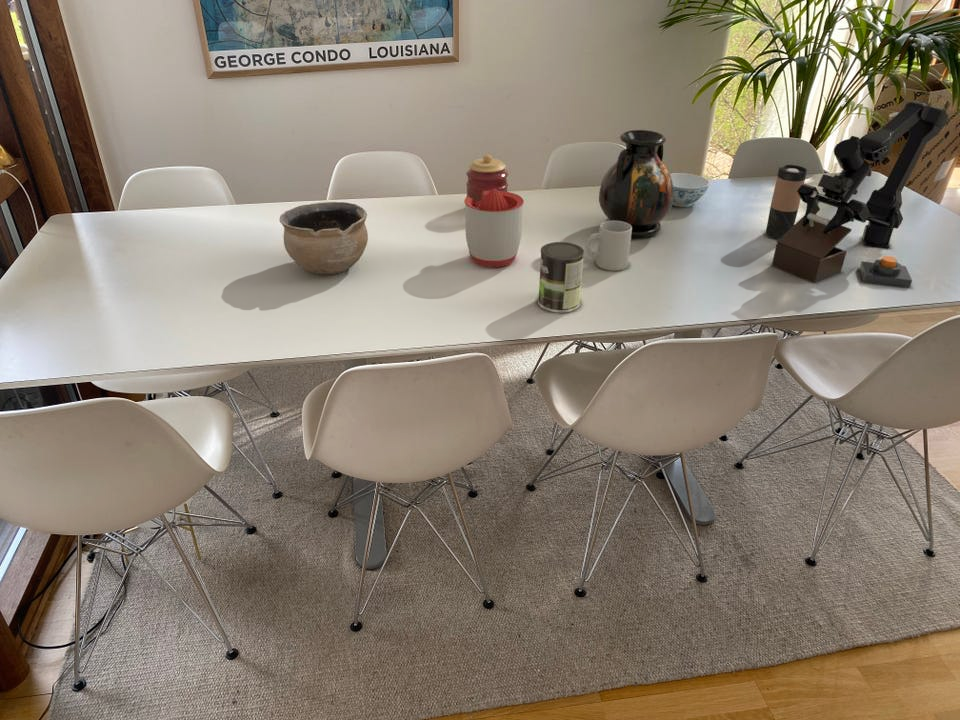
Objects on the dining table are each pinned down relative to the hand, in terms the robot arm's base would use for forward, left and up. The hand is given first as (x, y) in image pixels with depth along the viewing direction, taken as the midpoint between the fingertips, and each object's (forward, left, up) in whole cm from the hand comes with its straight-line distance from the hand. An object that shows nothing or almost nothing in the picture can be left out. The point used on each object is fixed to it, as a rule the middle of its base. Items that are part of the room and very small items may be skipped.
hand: (813, 229), depth 201 cm
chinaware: (+34, -43, -12) cm, 56 cm away
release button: (-20, -1, -8) cm, 22 cm away
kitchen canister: (+93, -19, -12) cm, 96 cm away
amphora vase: (+47, -16, -12) cm, 51 cm away
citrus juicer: (+82, +17, -12) cm, 85 cm away
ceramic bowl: (+122, +35, -12) cm, 128 cm away
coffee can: (+59, +38, -12) cm, 72 cm away
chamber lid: (-1, -1, -2) cm, 3 cm away
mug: (+51, +12, -12) cm, 54 cm away
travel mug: (+5, -24, -12) cm, 27 cm away
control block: (-20, -1, -12) cm, 23 cm away
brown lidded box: (-1, -1, -12) cm, 12 cm away
